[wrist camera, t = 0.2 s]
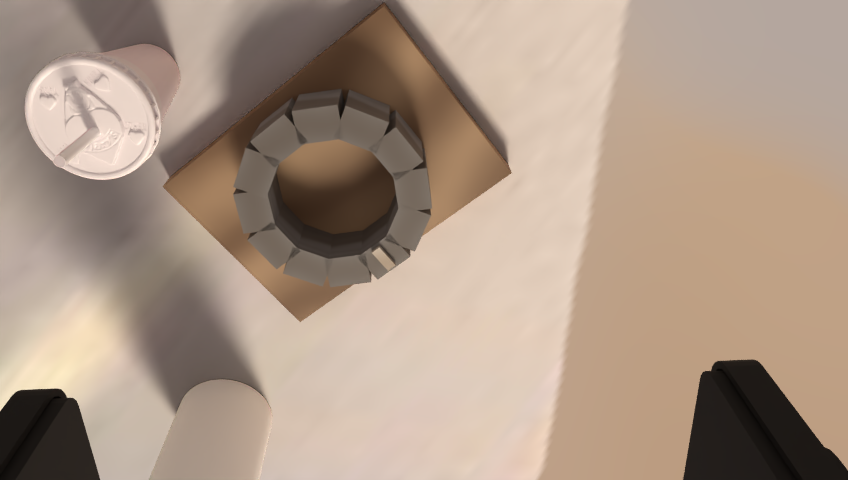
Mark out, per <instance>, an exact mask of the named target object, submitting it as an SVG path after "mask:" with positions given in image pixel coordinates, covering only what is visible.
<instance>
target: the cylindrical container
mask: <svg viewBox="0 0 848 480" xmlns="http://www.w3.org/2000/svg"><path fill="white" fill-rule="evenodd" d="M271 427H272V412H271V408H270V406H269V404H268V402H267V401H266V400H265V398H264V397H263V396H262V395H261V394H260V393H259V392H258V391H256V390H255V389H254V388H252V387H250V386H248V385H246V384H244V383H241V382H238V381H233V380H226V379H217V380H210V381H206V382H203V383H200V384H198V385H196V386H194V387H193V388H192V389H190V390H189V391H188V392H187V393H186V394H185V396H184V397H183V399H182V401H181V403H180V405H179V408H178V410H177V413H176V415H175V418H174V420H173V422H172V425H171V427H170V430H169V432H168V435H167V437H166V439H165V442H164V444H163V447H162V449H161V452H160V454H159V456H158V459H157V461H156V464H155V466H154V469H153V471H152V473H151V476H150V478H149V480H259V479H260V475H261V470H262V466H263V462H264V457H265V453H266V448H267V444H268V440H269V435H270V431H271Z"/></svg>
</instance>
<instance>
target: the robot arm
mask: <svg viewBox="0 0 848 480" xmlns="http://www.w3.org/2000/svg"><path fill="white" fill-rule="evenodd" d="M0 480H100V478H99V474H98V471H97V467H96V464H95V460H94V457H93V453H92V450H91V447H90V443H89V440H88V436H87V433H86V429H85V426H84V422H83V419H82V416H81V412H80V409H79V406H78V403H77V401H76V400H75V399H74V398H67V397H66V395H65V393H64V392H63V391H62V390H61V389H35V390H20V391H17V392H16V393H15V394H14V395H13V396H12V397H11V398H10V399H9V401H8V402H7V403H6V405H5V406H4V407H3V408H2V410H1V411H0ZM683 480H848V470H847V469H846V468H845V466H844V465H843V464H842V462H841V461H840V460H839V458H838V457H837V456H836V455H835V454H834V453H833V452H832V451H831V450H829V449H827V448H825V447H824V446H823V445H822V444H821V442H820V441H819V440H818V438H817V437H816V436H815V434H814V433H813V432H812V431H811V429H810V428H809V427H808V425H807V424H806V423H805V421H804V420H803V419H802V417H801V416H800V415H799V413H798V412H797V411H796V409H795V408H794V407H793V405H792V404H791V403H790V402H789V400H788V399H787V398H786V397H785V395H784V394H783V392H782V391H781V390H780V388H779V387H778V386H777V384H776V383H775V382H774V380H773V379H772V378H771V377H770V375H769V374H768V373H767V371H766V370H765V369H764V367H763V366H762V365H761V364H760V363H759V362H758V361H756V360H732V361H717V362H715V363H714V365H713V366H712V370H711V371H705V372H703V373H702V375H701V378H700V383H699V389H698V395H697V401H696V406H695V413H694V419H693V424H692V430H691V436H690V443H689V448H688V454H687V460H686V467H685V473H684V479H683Z"/></svg>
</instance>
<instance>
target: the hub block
mask: <svg viewBox="0 0 848 480" xmlns="http://www.w3.org/2000/svg"><path fill="white" fill-rule="evenodd" d="M509 174H511V170H510V168H509V165H508V164H507V162H506V161H505V160H504V158H503V157H502V156H501V154H500V153H499V152H498V150H497V149H496V148H495V147H494V145H493V144H492V143H491V141H490V140H489V139H488V137H487V136H486V135H485V133H484V132H483V131H482V130H481V128H480V127H479V126H478V124H477V123H476V122H475V120H474V119H473V118H472V116H471V115H470V114H469V113H468V111H467V110H466V109H465V107H464V106H463V105H462V103H461V102H460V101H459V99H458V98H457V97H456V96H455V94H454V93H453V92H452V90H451V89H450V88H449V86H448V85H447V84H446V82H445V81H444V80H443V79H442V77H441V76H440V75H439V73H438V72H437V71H436V69H435V68H434V67H433V65H432V64H431V63H430V62H429V60H428V59H427V58H426V56H425V55H424V54H423V52H422V51H421V50H420V48H419V47H418V46H417V45H416V43H415V42H414V41H413V39H412V38H411V37H410V35H409V34H408V33H407V31H406V30H405V29H404V28H403V26H402V25H401V24H400V22H399V21H398V20H397V18H396V17H395V16H394V14H393V13H392V12H391V11H390V9H389V8H388V7H387V5H386V4H385V3H383V4H381V5H380V6H379V7H378V8H376V9H375V10H374V11H373V12H372V13H370V14H369V15H368V16H367V17H365V18H364V19H363V20H362V21H361V22H359V23H358V24H357V25H356V26H354V27H353V28H352V29H351V30H350V31H348V32H347V33H346V34H345V35H343V36H342V37H341V38H340V39H339V40H337V41H336V42H335V43H334V44H332V45H331V46H330V47H329V48H328V49H326V50H325V51H324V52H323V53H321V54H320V55H319V56H318V57H317V58H315V59H314V60H313V61H312V62H310V63H309V64H308V65H307V66H306V67H304V68H303V69H302V70H301V71H299V72H298V73H297V74H296V75H295V76H293V77H292V78H291V79H290V80H288V81H287V82H286V83H285V84H284V85H282V86H281V87H280V88H279V89H277V90H276V91H275V92H274V93H273V94H271V95H270V96H269V97H268V98H266V99H265V100H264V101H263V102H262V103H260V104H259V105H258V106H257V107H255V108H254V109H253V110H252V111H251V112H249V113H248V114H247V115H246V116H244V117H243V118H242V119H241V120H240V121H238V122H237V123H236V124H235V125H233V126H232V127H231V128H230V129H228V130H227V131H226V132H225V133H224V134H222V135H221V136H220V137H219V138H217V139H216V140H215V141H214V142H213V143H211V144H210V145H209V146H208V147H206V148H205V149H204V150H203V151H202V152H200V153H199V154H198V155H197V156H195V157H194V158H193V159H192V160H191V161H189V162H188V163H187V164H186V165H184V166H183V167H182V168H181V169H180V170H178V171H177V172H176V173H175V174H173V175H172V176H171V177H170V178H169V179H168V180H167V182H166V183H165V184H164V186H163V187H164V188H165V189H166V190H167V191H168V192H169V193H170V194H171V195H172V196H173V197H174V198H175V199H176V200H177V201H178V202H179V203H180V204H181V205H182V206H183V207H184V208H185V209H186V210H187V211H188V212H189V213H190V214H191V215H192V216H193V217H194V218H195V219H196V220H197V221H198V222H199V223H200V224H201V225H202V226H203V227H204V228H205V229H206V230H207V231H208V232H209V233H210V234H211V235H212V236H213V237H214V238H215V239H216V240H217V241H218V242H219V243H220V244H221V245H222V246H223V247H225V248H226V249H227V250H228V251H229V252H230V253H231V254H232V255H233V256H234V257H235V258H236V259H237V260H238V261H239V262H240V263H241V264H242V265H243V266H244V267H245V268H246V269H247V270H248V271H249V272H250V273H251V274H252V275H253V276H254V277H255V278H256V279H257V280H258V281H259V282H260V283H261V284H262V285H263V286H264V287H265V288H266V289H267V290H268V291H269V292H270V293H271V294H272V295H273V296H274V297H275V298H276V299H277V300H278V301H279V302H280V303H281V304H282V305H283V306H284V307H285V308H286V309H287V310H288V311H289V312H290V313H291V314H293V315H294V316H295V317H296V318H297V319H298V320H299V321H300V322H301V321H302V320H304V319H305V318H307V317H308V316H309V315H311V314H312V313H314V312H315V311H316V310H318V309H319V308H321V307H322V306H324V305H325V304H326V303H328V302H329V301H331V300H332V299H334V298H335V297H336V296H338V295H339V294H341V293H342V292H343V291H345V290H346V289H348V288H349V287H351V286H352V285H353V284H360V283H367V282H371V273H372V274H373V275H374V276H375V277H376V278H377V279H379V278H380V277H382V276H383V275H385V274H386V273H388V272H389V271H390V270H392V269H393V268H395V267H396V266H398V265H399V264H400V263H402V262H403V261H405V260H406V259H408V258H409V257H410V250H413V251H415V250H416V248H417V245H418V243H419V241H420V239H421V237H422V236H423V235H424V234H426V233H427V232H429V231H430V230H431V229H433V228H434V227H436V226H437V225H438V224H440V223H441V222H443V221H444V220H446V219H447V218H448V217H450V216H451V215H453V214H454V213H455V212H457V211H458V210H460V209H461V208H463V207H464V206H465V205H467V204H468V203H470V202H471V201H472V200H474V199H475V198H477V197H478V196H480V195H481V194H482V193H484V192H485V191H487V190H488V189H490V188H491V187H492V186H494V185H495V184H497V183H498V182H499V181H501V180H502V179H504V178H505V177H507V176H508V175H509Z"/></svg>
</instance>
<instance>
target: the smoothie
mask: <svg viewBox="0 0 848 480" xmlns="http://www.w3.org/2000/svg"><path fill="white" fill-rule="evenodd" d="M179 84H180V73H179V69H178V66H177V64H176V62H175V61H174V59H173V58H172V57H171V55H170V54H169V53H167V52H166V51H165V50H163V49H162V48H160V47H158V46H155V45H151V44H138V45H133V46H129V47H125V48H121V49H116V50H112V51H108V52H103V53H91V52H76V53H71V54H66V55H63V56H61V57H59V58H57V59H55V60H53V61H51V62H50V63H49V64H48V65H47V66H46V67H44V68H43V69H42V70H40V71H39V72H38V73H37V75H36V76H35V77H34V78H33V80H32V81H31V83H30V85H29V87H28V90H27V93H26V98H25V116H26V121H27V125H28V128H29V130H30V133H31V135H32V137H33V139H34V140H35V142H36V144H37V145H38V146H39V148H40V149H41V150H42V151H43V153H44V154H45V155H46V156H47V157H48V158H49V159H50V160H52V161H53V163H54V164H55V166H57V167H60V168H63V169H65V170H66V171H69V172H71V173H73V174H75V175H78V176H81V177H85V178H89V179H97V180H107V179H115V178H119V177H122V176H125V175H127V174H129V173H131V172H133V171H134V170H136V169H137V168H138V167H139V166H141V165H142V164H143V163H144V162H145V161H146V160H147V159H148V158H149V157H150V156H151V155H152V153H153V151H154V150H155V148H156V146H157V144H158V142H159V137H160V133H161V123H162V121H163V118H164V116H165V114H166V112H167V110H168V108H169V106H170V104H171V102H172V100H173V98H174V96H175V94H176V92H177V90H178V87H179Z"/></svg>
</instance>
